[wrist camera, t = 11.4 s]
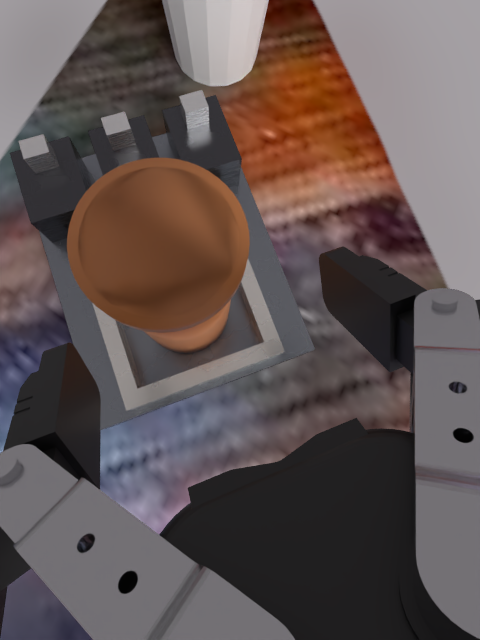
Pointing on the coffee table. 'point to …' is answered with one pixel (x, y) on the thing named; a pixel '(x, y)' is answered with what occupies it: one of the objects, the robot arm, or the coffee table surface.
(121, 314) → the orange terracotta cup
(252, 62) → the shot glass
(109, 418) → the board
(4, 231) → the coffee table surface
